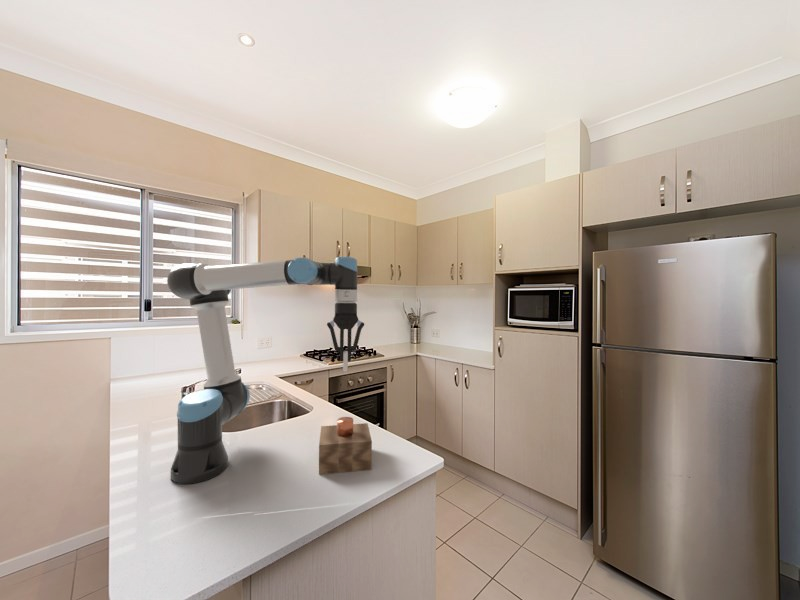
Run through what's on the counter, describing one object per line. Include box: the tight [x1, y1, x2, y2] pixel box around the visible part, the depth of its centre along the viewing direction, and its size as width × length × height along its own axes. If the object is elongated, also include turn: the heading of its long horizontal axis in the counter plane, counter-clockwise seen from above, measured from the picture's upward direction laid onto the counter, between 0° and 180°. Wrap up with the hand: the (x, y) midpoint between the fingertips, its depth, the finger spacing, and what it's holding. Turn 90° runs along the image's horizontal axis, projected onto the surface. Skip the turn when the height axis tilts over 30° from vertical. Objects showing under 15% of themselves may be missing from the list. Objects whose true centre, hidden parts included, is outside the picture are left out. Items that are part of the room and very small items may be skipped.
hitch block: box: [318, 422, 373, 475], centre depth 106 cm, size 16×14×9 cm
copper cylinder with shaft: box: [336, 416, 354, 437], centre depth 106 cm, size 5×5×10 cm
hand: (345, 370), depth 111 cm, fingers closed
